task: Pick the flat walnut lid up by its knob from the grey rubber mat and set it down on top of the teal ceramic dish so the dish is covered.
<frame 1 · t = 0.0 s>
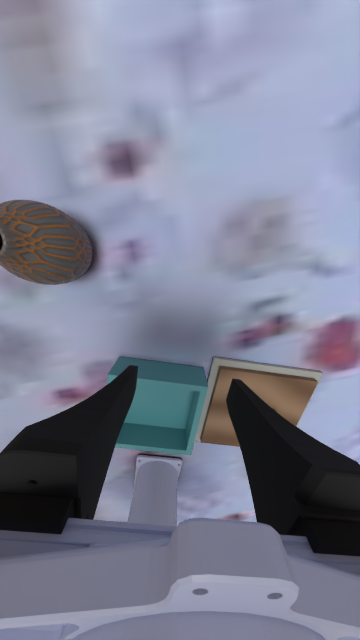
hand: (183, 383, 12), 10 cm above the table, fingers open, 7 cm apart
brown egg-shaped piece: (72, 250, 19), on the table
lid: (253, 409, 26), resting on mat
dish: (157, 395, 25), on the table
mat: (251, 407, 26), on the table
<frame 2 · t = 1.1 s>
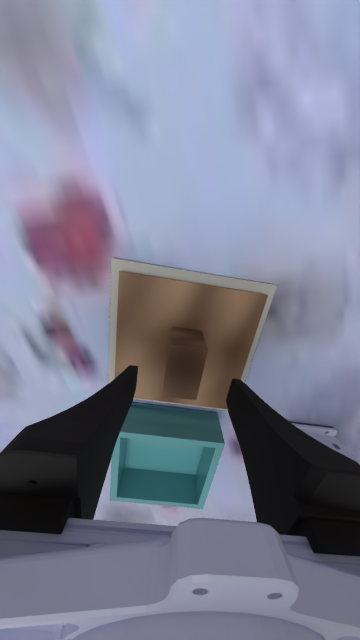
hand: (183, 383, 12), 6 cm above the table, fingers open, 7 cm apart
lid: (182, 346, 18), resting on mat
dish: (165, 440, 23), on the table
mat: (182, 344, 19), on the table
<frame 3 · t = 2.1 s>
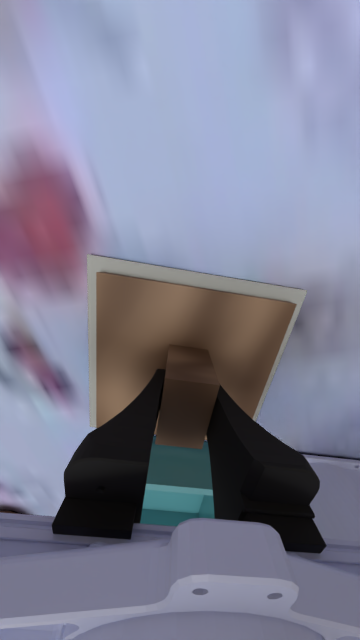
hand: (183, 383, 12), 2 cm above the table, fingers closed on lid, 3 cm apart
lid: (183, 368, 14), resting on mat, touching gripper
dish: (162, 474, 19), on the table
mat: (183, 365, 15), on the table
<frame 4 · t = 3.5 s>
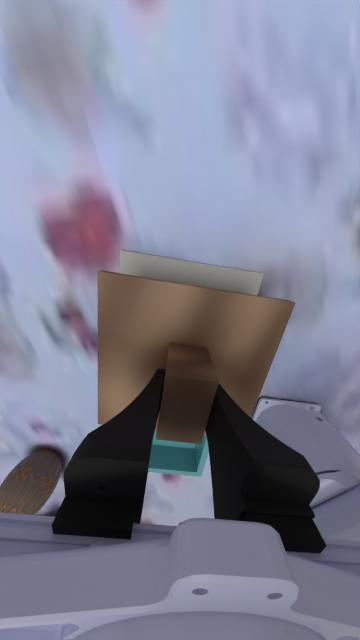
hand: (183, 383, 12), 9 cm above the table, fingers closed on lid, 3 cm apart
brown egg-shaped piece: (49, 456, 29), on the table
lid: (183, 365, 14), point 7 cm above the table, touching gripper
dish: (167, 416, 26), on the table
mat: (182, 327, 21), on the table
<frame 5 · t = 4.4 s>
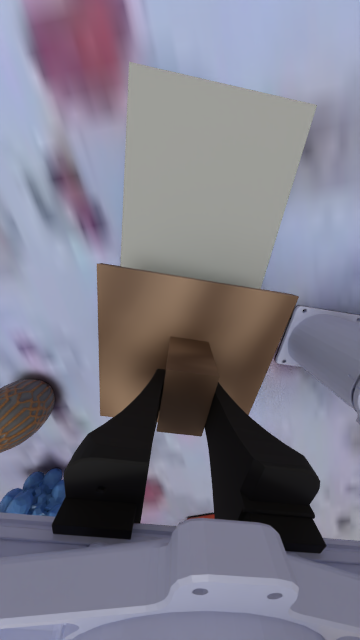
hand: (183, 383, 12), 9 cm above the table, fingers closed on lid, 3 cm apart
brown egg-shaped piece: (40, 390, 24), on the table
lid: (184, 359, 14), point 7 cm above the table, touching gripper
mat: (205, 198, 17), on the table
grapes: (55, 464, 29), on the table
when the fingers open (7 cm above the table, at t = 5.0 s): lid stays where it is, resting on dish.
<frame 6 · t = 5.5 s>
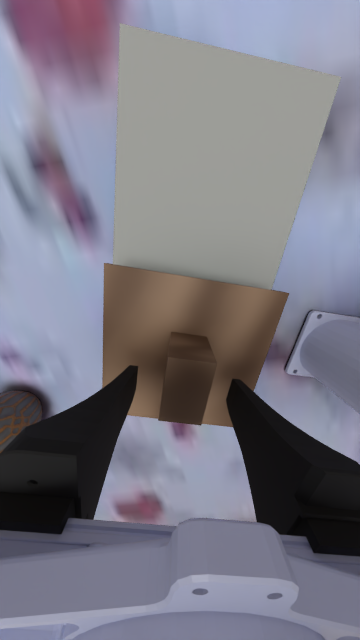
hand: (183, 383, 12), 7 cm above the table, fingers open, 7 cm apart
brown egg-shaped piece: (27, 401, 22), on the table
lid: (183, 355, 15), point 4 cm above the table, touching dish
mat: (209, 189, 15), on the table
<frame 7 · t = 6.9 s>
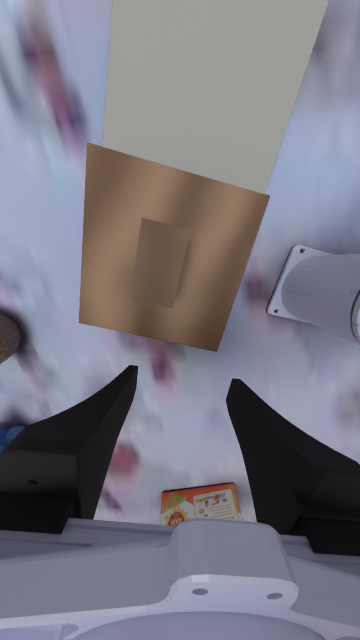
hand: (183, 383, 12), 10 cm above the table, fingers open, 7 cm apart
brown egg-shaped piece: (5, 329, 22), on the table
lid: (164, 266, 15), point 4 cm above the table, touching dish
mat: (201, 99, 15), on the table
grapes: (21, 421, 27), on the table
cracker box: (199, 493, 33), on the table
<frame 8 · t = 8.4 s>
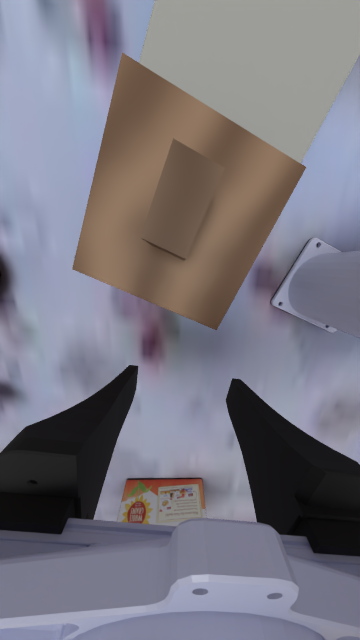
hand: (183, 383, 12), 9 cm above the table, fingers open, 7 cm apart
lid: (179, 224, 14), point 4 cm above the table, touching dish
mat: (250, 55, 14), on the table
cracker box: (165, 486, 31), on the table
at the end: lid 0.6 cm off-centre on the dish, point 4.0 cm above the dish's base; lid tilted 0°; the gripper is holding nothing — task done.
